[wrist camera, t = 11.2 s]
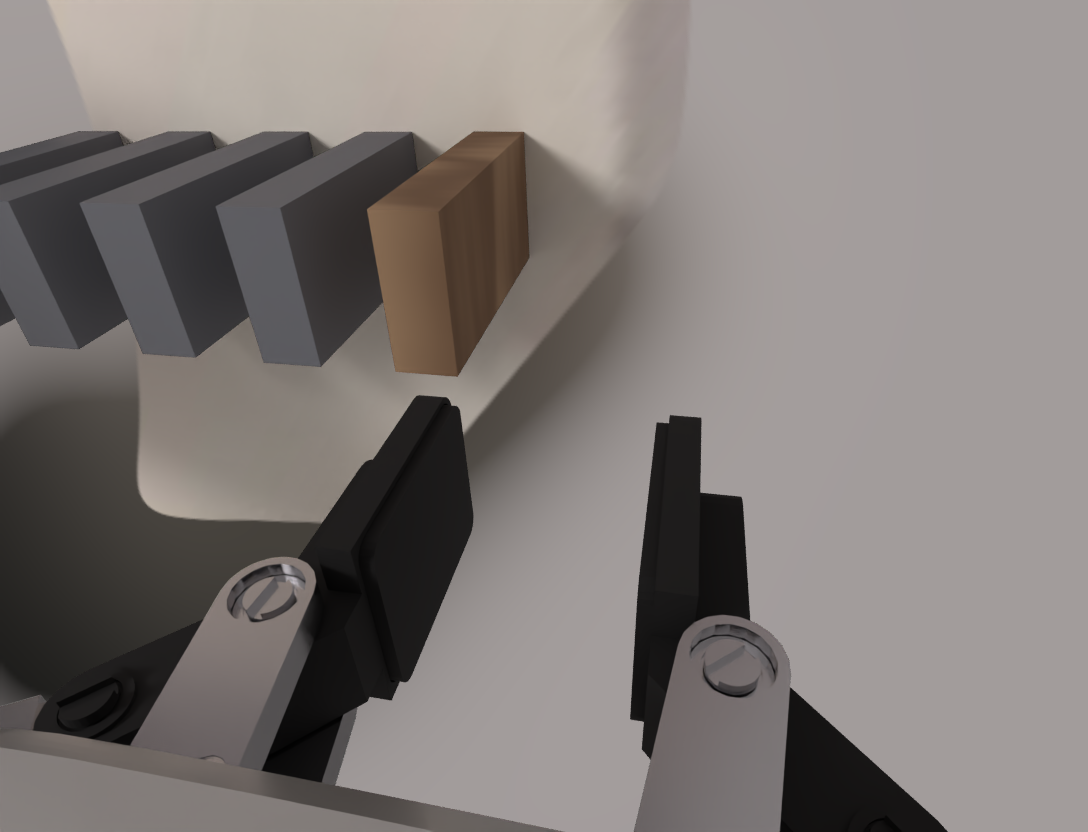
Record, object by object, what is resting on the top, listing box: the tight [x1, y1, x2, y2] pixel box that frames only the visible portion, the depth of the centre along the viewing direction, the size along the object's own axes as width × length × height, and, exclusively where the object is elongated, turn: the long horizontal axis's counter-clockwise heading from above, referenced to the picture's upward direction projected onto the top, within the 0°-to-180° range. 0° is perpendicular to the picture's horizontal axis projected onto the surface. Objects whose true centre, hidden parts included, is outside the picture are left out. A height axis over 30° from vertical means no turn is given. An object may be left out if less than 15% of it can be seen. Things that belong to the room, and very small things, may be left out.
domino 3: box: [80, 132, 313, 358], centre depth 25 cm, size 2×5×10 cm, turn 2°
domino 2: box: [0, 132, 215, 349], centre depth 26 cm, size 2×5×10 cm, turn 2°
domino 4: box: [215, 132, 417, 367], centre depth 24 cm, size 2×5×10 cm, turn 2°
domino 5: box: [367, 132, 529, 377], centre depth 23 cm, size 2×5×10 cm, turn 1°
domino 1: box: [0, 131, 123, 326], centre depth 26 cm, size 2×5×10 cm, turn 2°
